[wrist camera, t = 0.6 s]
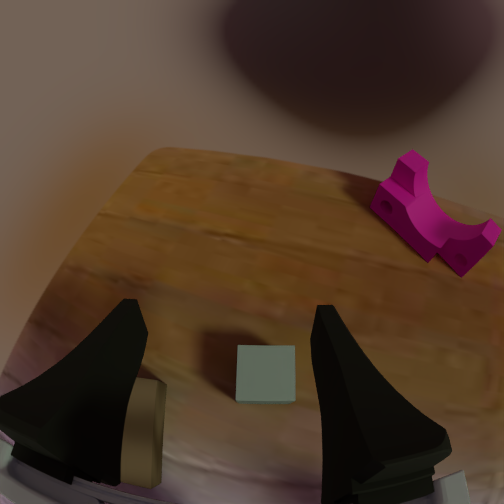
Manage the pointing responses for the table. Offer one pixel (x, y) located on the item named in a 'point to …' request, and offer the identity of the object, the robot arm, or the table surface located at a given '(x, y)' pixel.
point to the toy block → (429, 218)
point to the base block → (144, 434)
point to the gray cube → (265, 374)
